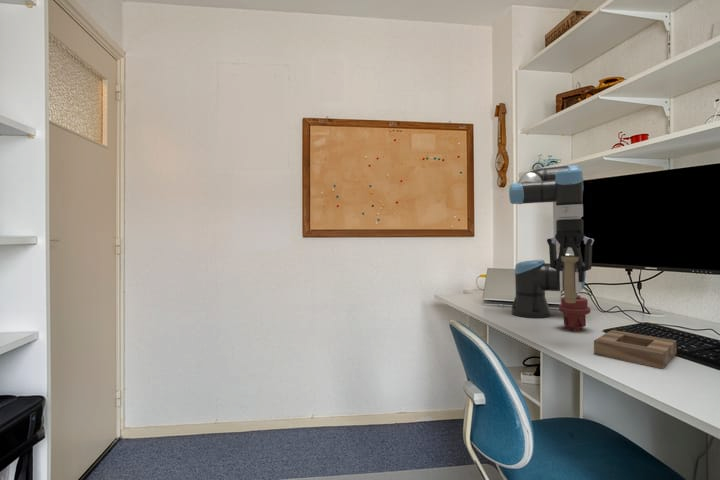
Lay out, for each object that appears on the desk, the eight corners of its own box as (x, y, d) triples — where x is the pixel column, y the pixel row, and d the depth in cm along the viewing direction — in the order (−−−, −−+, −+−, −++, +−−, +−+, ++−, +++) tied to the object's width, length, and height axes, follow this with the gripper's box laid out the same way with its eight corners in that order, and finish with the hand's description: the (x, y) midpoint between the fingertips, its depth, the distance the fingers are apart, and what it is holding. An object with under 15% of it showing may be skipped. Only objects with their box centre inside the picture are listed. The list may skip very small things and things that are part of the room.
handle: (567, 304, 114) (566, 257, 114) (558, 300, 121) (557, 255, 120) (583, 304, 114) (583, 256, 113) (573, 300, 120) (573, 255, 120)
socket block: (611, 342, 118) (611, 329, 118) (676, 354, 106) (676, 340, 106) (594, 354, 108) (593, 340, 108) (662, 368, 96) (662, 353, 95)
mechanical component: (584, 325, 138) (595, 333, 128) (555, 325, 140) (564, 332, 130) (583, 293, 138) (595, 298, 128) (554, 293, 140) (563, 298, 130)
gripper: (537, 219, 120) (538, 290, 121) (595, 217, 107) (596, 296, 108) (547, 219, 125) (548, 286, 126) (604, 217, 112) (605, 292, 113)
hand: (570, 291), depth 117 cm, fingers closed on handle, 4 cm apart
